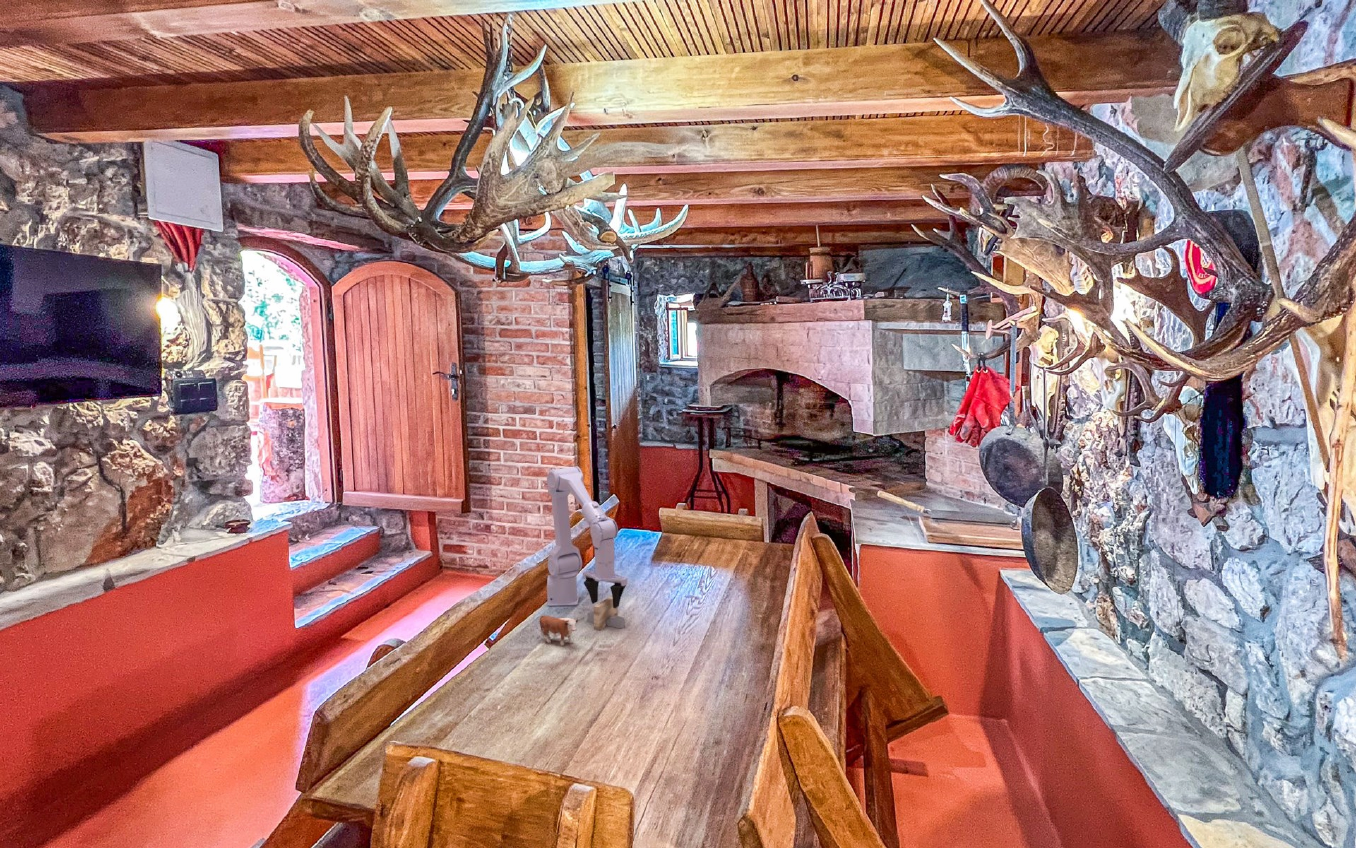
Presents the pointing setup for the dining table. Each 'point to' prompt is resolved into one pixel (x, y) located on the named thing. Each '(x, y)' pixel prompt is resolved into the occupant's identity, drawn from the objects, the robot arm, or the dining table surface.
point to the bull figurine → (557, 627)
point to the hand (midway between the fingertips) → (605, 604)
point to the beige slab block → (603, 612)
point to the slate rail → (608, 620)
